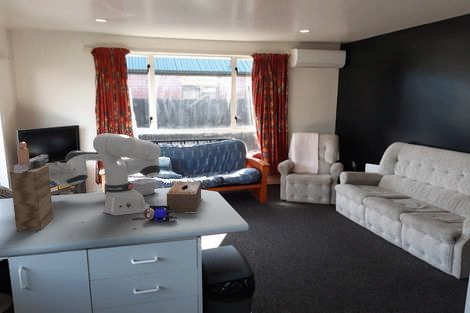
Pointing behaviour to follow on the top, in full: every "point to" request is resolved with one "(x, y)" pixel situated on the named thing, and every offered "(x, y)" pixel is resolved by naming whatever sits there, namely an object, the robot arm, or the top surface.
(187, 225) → the top surface
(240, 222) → the top surface
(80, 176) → the robot arm
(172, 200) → the tissue box cover
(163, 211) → the character figurine
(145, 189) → the paper bowls
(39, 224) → the stand
